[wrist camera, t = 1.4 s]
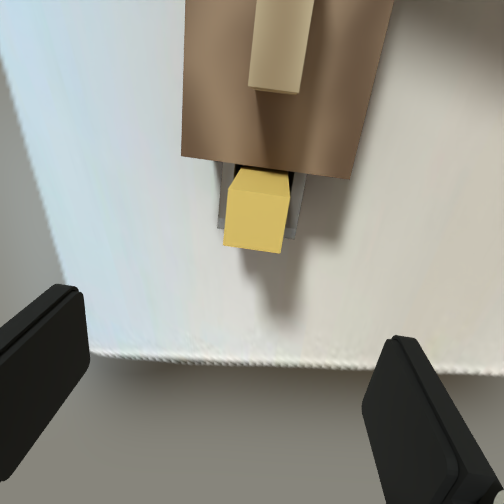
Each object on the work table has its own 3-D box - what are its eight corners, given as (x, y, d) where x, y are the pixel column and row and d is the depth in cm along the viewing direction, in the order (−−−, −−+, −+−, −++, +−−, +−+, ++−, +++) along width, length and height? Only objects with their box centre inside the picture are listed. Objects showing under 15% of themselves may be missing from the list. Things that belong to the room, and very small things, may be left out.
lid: (429, -177, 20) (519, -347, 12) (329, 235, 31) (345, 277, 24) (201, -203, 20) (153, -384, 13) (185, 215, 31) (156, 249, 24)
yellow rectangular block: (286, 158, 35) (290, 197, 21) (280, 194, 37) (280, 253, 22) (249, 153, 35) (228, 188, 21) (245, 189, 37) (222, 245, 23)
